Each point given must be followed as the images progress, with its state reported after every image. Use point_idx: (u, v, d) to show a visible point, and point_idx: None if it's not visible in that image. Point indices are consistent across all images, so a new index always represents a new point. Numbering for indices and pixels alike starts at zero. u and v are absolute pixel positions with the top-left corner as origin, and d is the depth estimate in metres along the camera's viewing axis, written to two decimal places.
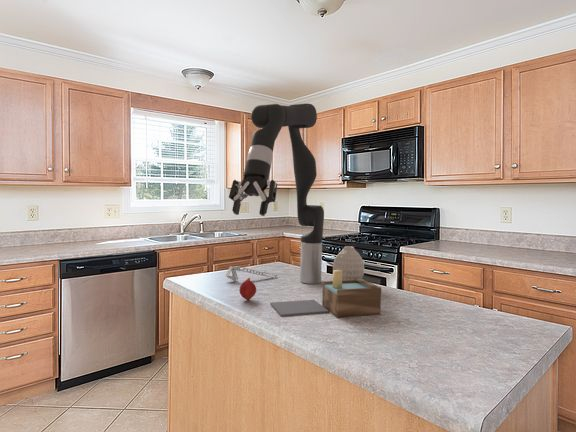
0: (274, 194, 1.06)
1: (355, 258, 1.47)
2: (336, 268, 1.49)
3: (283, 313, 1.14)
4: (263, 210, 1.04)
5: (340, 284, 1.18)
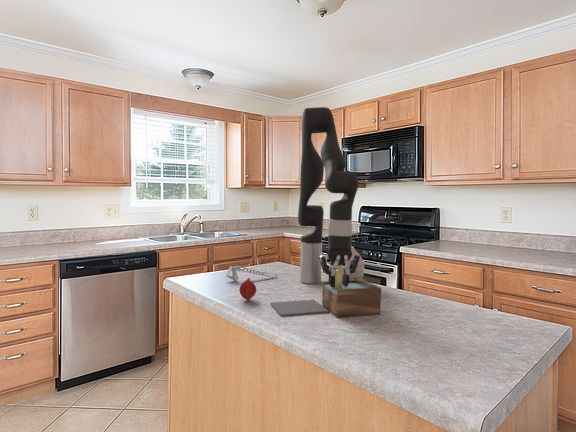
0: (353, 265, 1.21)
1: None
2: None
3: (283, 313, 1.14)
4: (347, 283, 1.19)
5: (340, 284, 1.18)
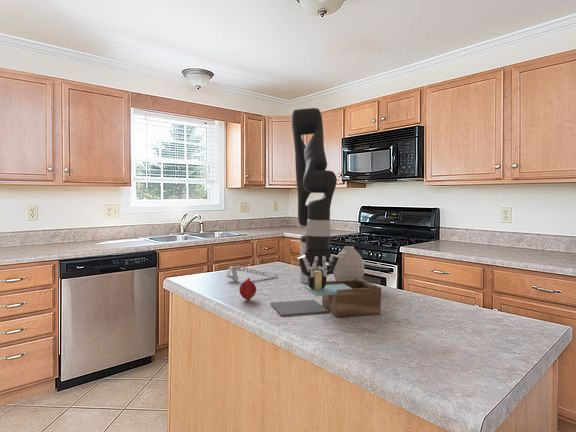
0: (330, 267, 1.19)
1: (355, 258, 1.47)
2: (336, 268, 1.49)
3: (283, 313, 1.14)
4: (325, 284, 1.17)
5: (320, 285, 1.16)
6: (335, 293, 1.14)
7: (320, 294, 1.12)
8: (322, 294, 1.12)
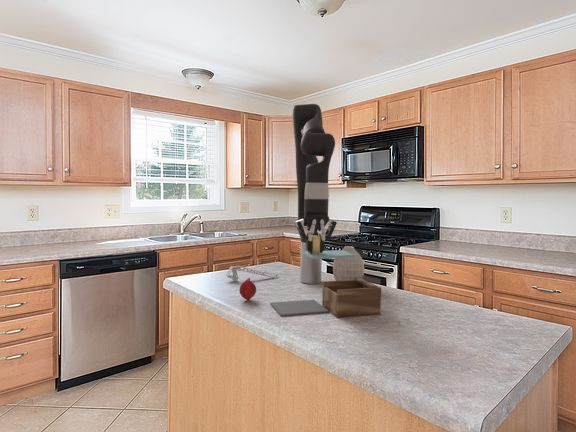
0: (329, 232, 1.18)
1: (355, 258, 1.47)
2: (336, 268, 1.49)
3: (283, 313, 1.14)
4: (323, 249, 1.16)
5: (318, 249, 1.15)
6: (333, 257, 1.13)
7: (319, 257, 1.11)
8: (320, 257, 1.11)
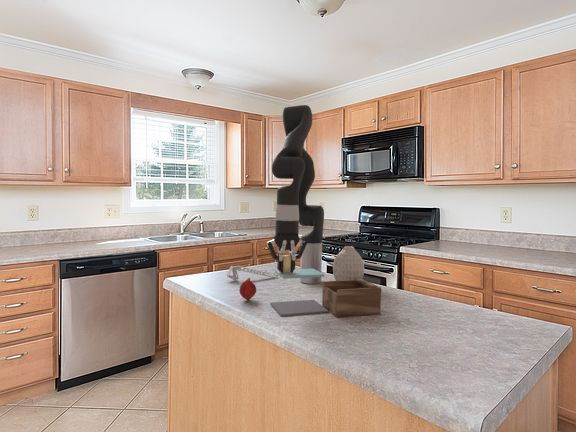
0: None
1: (355, 258, 1.47)
2: (336, 268, 1.49)
3: (283, 313, 1.14)
4: (293, 268, 1.20)
5: (288, 269, 1.19)
6: (303, 276, 1.16)
7: (288, 277, 1.15)
8: (290, 277, 1.15)
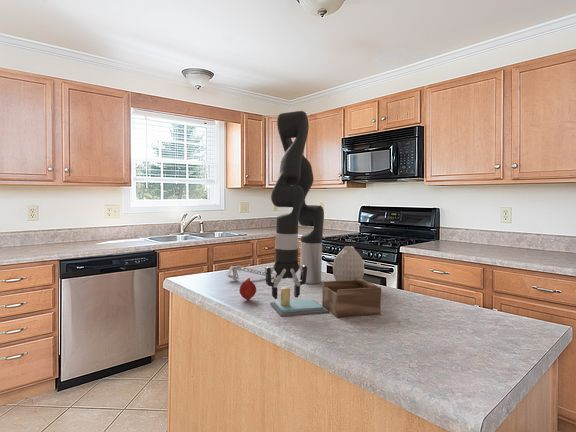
0: None
1: (355, 258, 1.47)
2: (336, 268, 1.49)
3: (283, 313, 1.14)
4: (298, 293, 1.21)
5: (287, 302, 1.19)
6: (301, 310, 1.17)
7: (287, 310, 1.16)
8: (288, 311, 1.16)
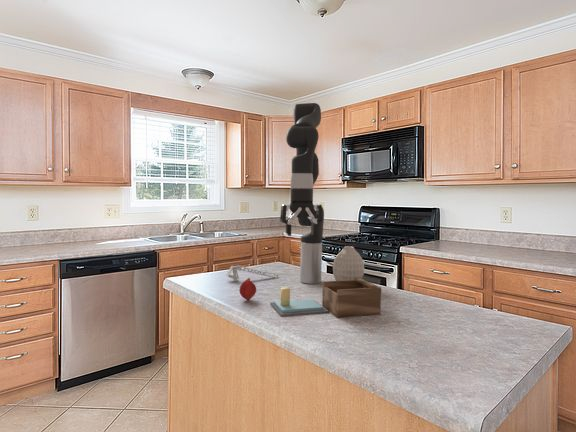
0: None
1: (355, 258, 1.47)
2: (336, 268, 1.49)
3: (283, 313, 1.14)
4: (315, 231, 1.26)
5: (287, 302, 1.19)
6: (301, 310, 1.17)
7: (287, 310, 1.16)
8: (288, 311, 1.16)
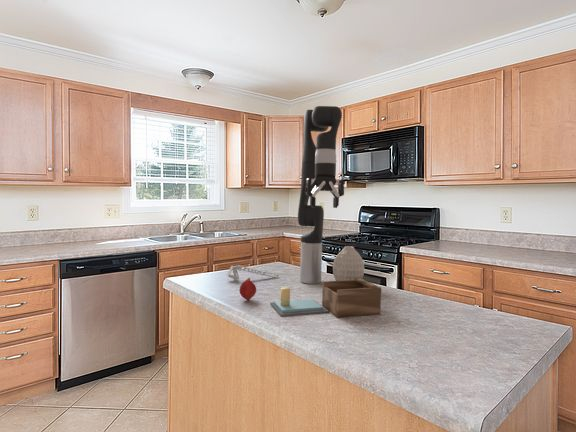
0: None
1: (355, 258, 1.47)
2: (336, 268, 1.49)
3: (283, 313, 1.14)
4: (337, 204, 1.34)
5: (287, 302, 1.19)
6: (301, 310, 1.17)
7: (287, 310, 1.16)
8: (288, 311, 1.16)
